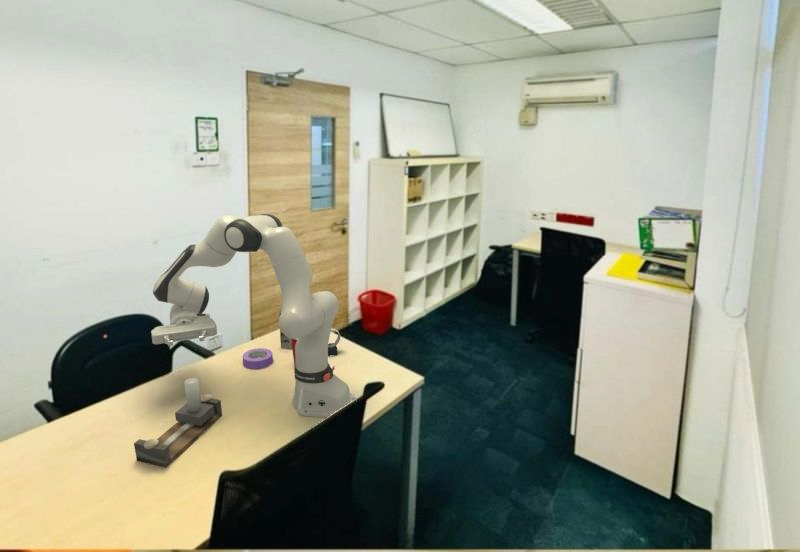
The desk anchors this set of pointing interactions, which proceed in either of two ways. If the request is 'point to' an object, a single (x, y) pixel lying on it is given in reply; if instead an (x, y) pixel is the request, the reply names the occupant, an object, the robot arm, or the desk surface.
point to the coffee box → (285, 340)
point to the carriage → (194, 405)
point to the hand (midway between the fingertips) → (186, 341)
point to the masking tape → (253, 363)
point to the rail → (175, 438)
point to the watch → (333, 345)
